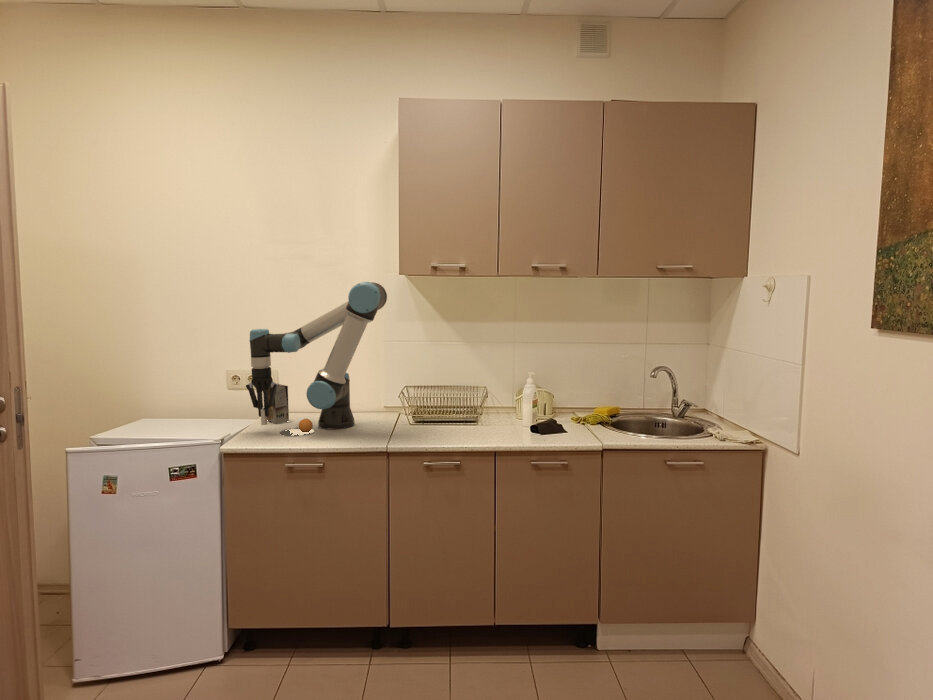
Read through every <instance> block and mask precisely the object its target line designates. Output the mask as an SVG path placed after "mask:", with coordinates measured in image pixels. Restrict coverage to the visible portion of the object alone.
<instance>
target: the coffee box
mask: <svg viewBox="0 0 933 700" xmlns="http://www.w3.org/2000/svg"><path fill="white" fill-rule="evenodd" d="M278 384H279V386H278V387H277V389H276V394H275V400H274V405H273V406H272V407H270V408H269V416H268V417H267V420H268V421H267V422H269V421H271V422H270V423H272V422H273V423H272V424H275V423H279V424H283V423H282V422H286V423H288V422H287V421H289V422H290V415H289V414H290V413H289V411H290V410H289V386H288V385H285V384H280V383H278ZM271 386H272V385H271ZM271 386H270V387H269V391H268V394H269V400H270V394H271V389H272V387H271Z"/></svg>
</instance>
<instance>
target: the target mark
mask: <svg viewBox="0 0 933 700" xmlns="http://www.w3.org/2000/svg"><path fill="white" fill-rule="evenodd" d="M287 429H288V428H287ZM287 429H283V430H281V431H279V433H280V434H281V435H280V434H279V435H280V436H283V435H284V437H292V436H291V435H292V434H293V433H291V434H290V431H289V430H287ZM285 430H287V431H285ZM308 435H311V434H310V433H309V434H308ZM303 436H307V435H306V434H304V435H303ZM293 437H300V436H299V435H298V434H297V435H294V436H293Z"/></svg>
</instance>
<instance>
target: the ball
mask: <svg viewBox="0 0 933 700" xmlns="http://www.w3.org/2000/svg"><path fill="white" fill-rule="evenodd" d="M313 426H314V425H313V422H312V420H310V419H308V418H303V419H301V420H299V423H298V428H299V429H300V430H301V431H302V432H309V431H310V430H311V429H313Z"/></svg>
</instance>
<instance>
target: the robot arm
mask: <svg viewBox="0 0 933 700" xmlns="http://www.w3.org/2000/svg"><path fill="white" fill-rule="evenodd" d="M387 300H388V293H387V291H386V289H385V288H384V286H383V285H381V284H380V283H377V282H370V281H361V282H359V283H356V284H355V285H353V287H352V288H351V289H350V290H349V293H348V301H346V302H344V303H342V304H341V305H339V306H338V307H337V306H336V307H335V308H334V309H332V310H330V311H328V312H327V313H325V314H323V315H321V316H319V317H317V318H315V319H314V320H311V321H309V322H308V323H306V324H304V325H303V326H301V327H299V328H297V329H296V330H294V331H290V332H285V333H270V329H268V328H255V329H254V328H253V329H251V330H250V331H249V340H248V341H249V346H250V347H249V349H250V366H251V377H252V378H251V380H250V381H251V382H249V384H245V388H246V389H247V391H248V393H249V396H250V400H251V404H252V407H253V408H256V409H258V410H257V411H258V417H260V420H261V421H260V423H261V426H266V425H268V422H269V421H267V417H268V416H269V408H270V407H272V406H273V405H274V400H275V394H276V389H277V387H278V386H279V384H280V383H276V382H274V381H273V378H272V367H271V366H272V360H271V353H289V354H290V353H296V352H299V350H301V349H303V348H305V347H306V346H307V345H308V344H311V343H312V342H314V341H316V340H318V339H320V338H321V337H323V336H325V335H327V334H329V333H331V332H332V331H335V330H336V329H338V328H340V327H341V328H340V331H339V333H338V335H337V337H336V340H335V342H334V344H333V347H332V348H331V352H330V354H329V356H328V358H327V360H326V362H325V365H324V367H323V368H321V369H319V370H318V372H317V373H316V375H315V378H314V380H313V382H311V383H310V384H309V385H308V387H307V389H306V393H305V394H306V399H307V401H308V402H309V404H310V405H311V406H312V407H314V408H315V409H317V410H321V411H320V414H319V417H318V422H317V423H318V424H317V425H318V428H320V429H323V428H324V430H340V429H341V430H342V429H349V428H352V427H353V426H355V425H354V424H355V417H354V414H353V411H352V409H351V397H350V396H351V395H350V393H351V392H350V391H351V388H350V384H351V383H350V381H351V379H350V375H349V373H348V372H347V370H348V368H349V366H350V364H351V362H352V359H353V357H354V356H355V353H356V351H357V349H358V346H359V344H360V342H361V339H362V337H363V334H364V332H365V331H366V328H367V326H368V324H369V323H371V322H373V321H374V319H375V318H376V315H377V313H378V310H381V309H382V308H384V307H385V305H386V303H387ZM271 385H272V386H271ZM270 386H271V387H272V389H271V394H270V400H269V394H268V391H269V387H270ZM254 388H255V389H256V392H255V389H254Z"/></svg>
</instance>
